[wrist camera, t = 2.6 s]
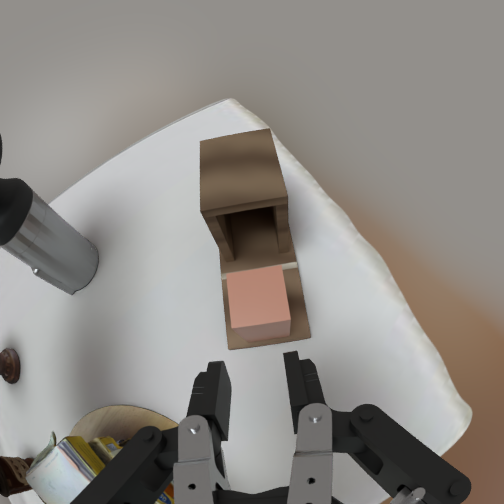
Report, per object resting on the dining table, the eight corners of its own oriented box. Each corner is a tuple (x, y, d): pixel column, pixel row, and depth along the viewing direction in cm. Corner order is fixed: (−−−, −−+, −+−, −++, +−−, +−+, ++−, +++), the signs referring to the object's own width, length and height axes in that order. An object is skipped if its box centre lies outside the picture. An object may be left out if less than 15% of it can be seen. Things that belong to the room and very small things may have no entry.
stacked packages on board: (164, 379, 32) (82, 371, 17) (264, 521, 21) (247, 595, 6) (58, 430, 28) (-18, 429, 13) (133, 548, 18) (78, 586, 3)
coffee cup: (26, 443, 26) (-23, 443, 15) (52, 472, 24) (1, 479, 13) (23, 469, 23) (-23, 471, 12) (48, 497, 21) (1, 506, 9)
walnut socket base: (309, 338, 32) (324, 315, 20) (230, 349, 33) (197, 333, 21) (280, 194, 42) (276, 127, 30) (217, 205, 42) (193, 142, 30)
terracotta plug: (289, 336, 31) (290, 319, 22) (247, 342, 31) (231, 328, 22) (283, 296, 33) (281, 264, 24) (242, 302, 34) (226, 273, 25)
